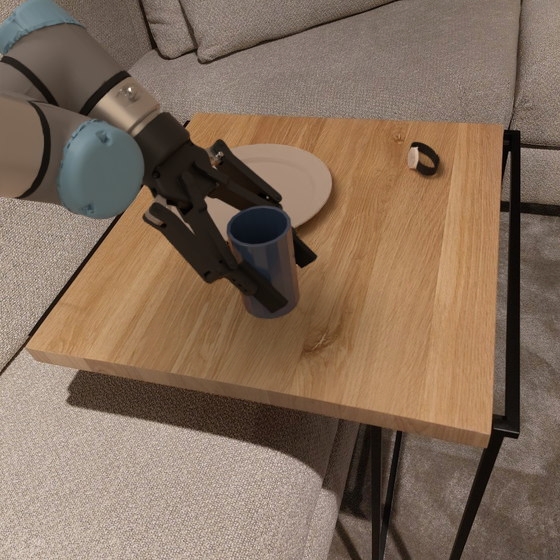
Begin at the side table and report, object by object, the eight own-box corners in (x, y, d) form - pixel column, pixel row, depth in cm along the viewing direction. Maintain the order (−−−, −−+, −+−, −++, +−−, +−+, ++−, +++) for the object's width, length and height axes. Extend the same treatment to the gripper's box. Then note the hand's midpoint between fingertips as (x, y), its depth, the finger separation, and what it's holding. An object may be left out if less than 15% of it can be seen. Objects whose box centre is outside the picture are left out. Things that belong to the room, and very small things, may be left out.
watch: (402, 155, 96) (402, 136, 94) (430, 150, 96) (431, 131, 94) (415, 181, 91) (416, 161, 88) (445, 176, 91) (447, 156, 88)
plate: (214, 147, 105) (212, 137, 104) (352, 161, 97) (352, 151, 95) (142, 236, 89) (138, 226, 87) (300, 264, 80) (299, 253, 79)
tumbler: (233, 312, 68) (215, 240, 60) (256, 273, 72) (242, 201, 65) (287, 324, 66) (276, 251, 58) (308, 284, 70) (300, 210, 63)
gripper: (88, 168, 52) (273, 339, 56) (206, 70, 64) (350, 217, 69) (65, 205, 57) (235, 357, 62) (177, 109, 69) (312, 242, 74)
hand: (295, 284), depth 65 cm, fingers closed on tumbler, 7 cm apart
